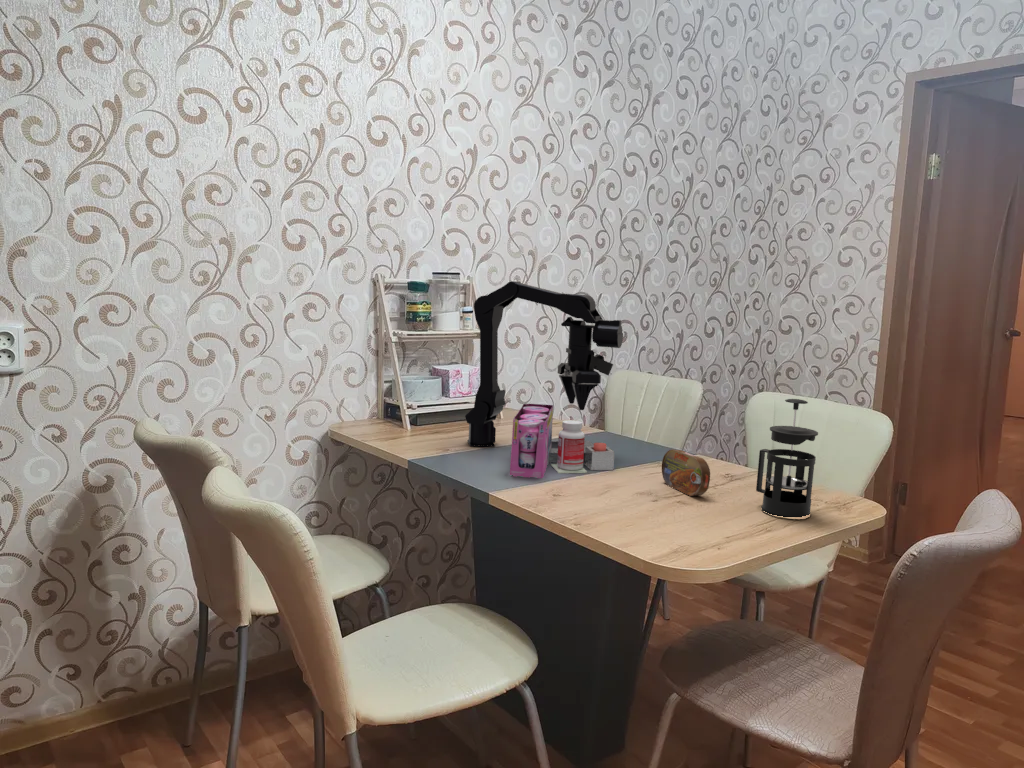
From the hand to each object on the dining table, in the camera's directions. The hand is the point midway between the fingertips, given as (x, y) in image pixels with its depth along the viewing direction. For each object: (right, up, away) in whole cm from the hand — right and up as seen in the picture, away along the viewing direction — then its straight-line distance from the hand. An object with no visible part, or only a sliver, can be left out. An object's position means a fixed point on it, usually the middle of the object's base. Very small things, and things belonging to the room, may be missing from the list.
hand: (576, 406), depth 182 cm
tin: (+21, -18, -25) cm, 37 cm away
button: (+5, -12, -8) cm, 15 cm away
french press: (+38, -20, -37) cm, 57 cm away
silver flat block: (-2, -13, +2) cm, 13 cm away
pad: (-3, -15, -11) cm, 18 cm away
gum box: (-12, -14, -8) cm, 20 cm away
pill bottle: (-3, -14, -11) cm, 18 cm away
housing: (+5, -14, -8) cm, 17 cm away
